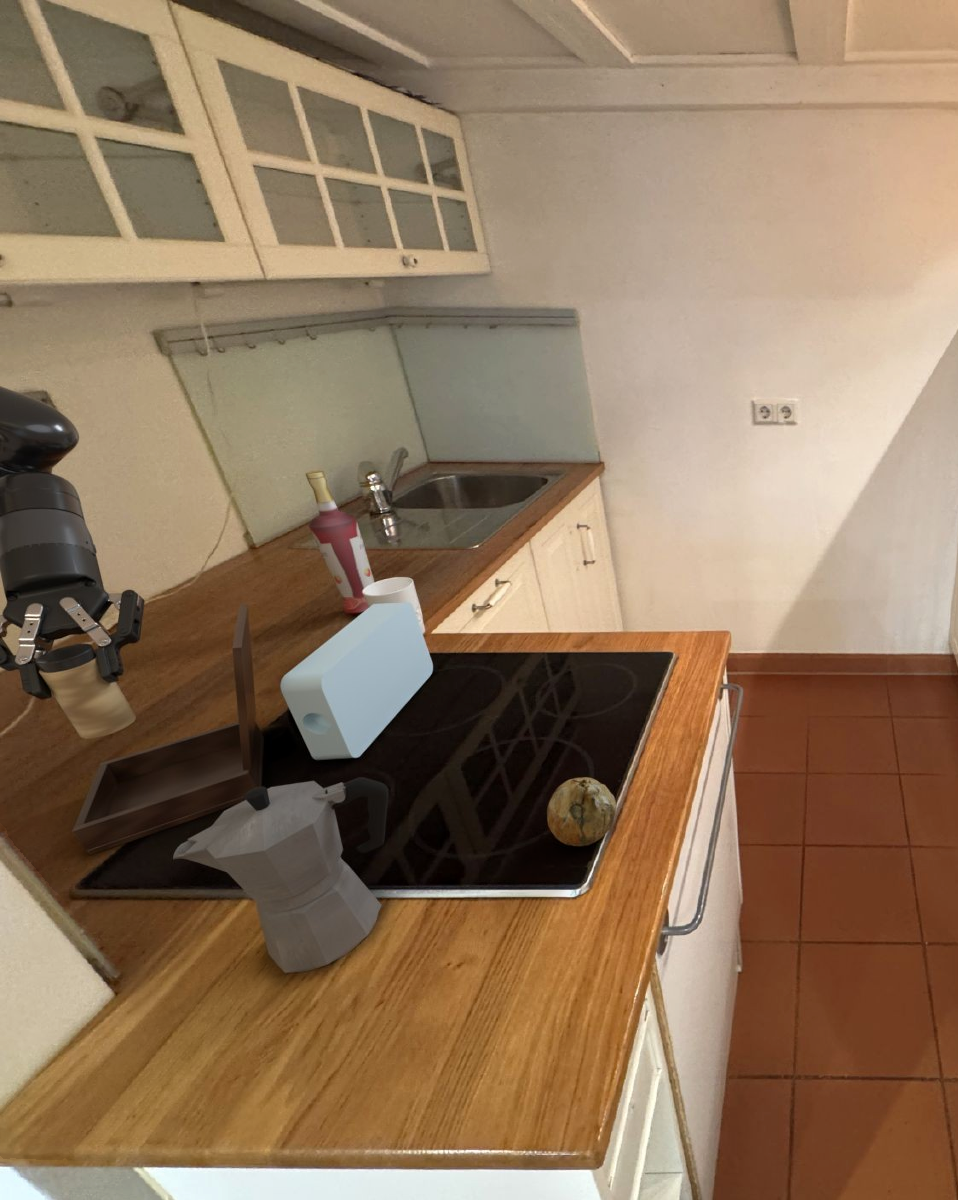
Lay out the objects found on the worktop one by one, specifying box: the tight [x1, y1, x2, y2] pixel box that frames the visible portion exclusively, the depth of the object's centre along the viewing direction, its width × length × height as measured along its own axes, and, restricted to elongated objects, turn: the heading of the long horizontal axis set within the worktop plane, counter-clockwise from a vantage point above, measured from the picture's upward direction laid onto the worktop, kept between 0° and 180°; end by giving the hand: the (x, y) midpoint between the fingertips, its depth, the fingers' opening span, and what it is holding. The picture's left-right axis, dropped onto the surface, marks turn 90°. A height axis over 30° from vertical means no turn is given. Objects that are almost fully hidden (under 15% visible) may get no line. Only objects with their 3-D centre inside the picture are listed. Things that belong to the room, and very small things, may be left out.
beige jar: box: [36, 643, 137, 740], centre depth 75 cm, size 5×5×10 cm
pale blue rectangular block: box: [280, 602, 434, 761], centre depth 95 cm, size 23×6×13 cm, turn 4°
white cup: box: [362, 576, 426, 635], centre depth 118 cm, size 8×8×10 cm
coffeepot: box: [172, 776, 390, 974], centre depth 61 cm, size 15×9×18 cm, turn 125°
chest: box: [71, 721, 265, 856], centre depth 83 cm, size 16×15×4 cm
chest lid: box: [231, 604, 257, 770], centre depth 83 cm, size 16×15×1 cm
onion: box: [546, 776, 618, 847], centre depth 74 cm, size 8×8×8 cm
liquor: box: [305, 470, 376, 617], centre depth 124 cm, size 7×7×28 cm
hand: (77, 687), depth 73 cm, fingers closed on beige jar, 5 cm apart
